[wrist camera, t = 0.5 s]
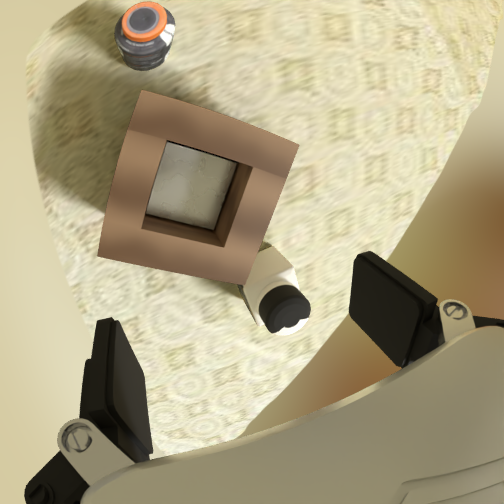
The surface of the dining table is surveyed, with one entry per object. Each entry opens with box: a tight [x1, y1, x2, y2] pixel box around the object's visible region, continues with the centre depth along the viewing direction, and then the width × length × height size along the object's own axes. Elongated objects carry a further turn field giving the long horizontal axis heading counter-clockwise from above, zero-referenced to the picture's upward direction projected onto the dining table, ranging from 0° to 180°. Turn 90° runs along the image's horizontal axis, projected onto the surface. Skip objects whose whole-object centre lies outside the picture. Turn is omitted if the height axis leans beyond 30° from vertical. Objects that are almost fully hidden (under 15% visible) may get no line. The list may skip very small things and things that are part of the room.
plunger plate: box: [146, 142, 237, 230], centre depth 29 cm, size 7×7×1 cm
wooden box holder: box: [97, 90, 299, 285], centre depth 30 cm, size 15×15×12 cm
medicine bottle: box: [237, 246, 311, 335], centre depth 40 cm, size 7×7×12 cm
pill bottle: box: [114, 2, 175, 71], centre depth 22 cm, size 6×6×11 cm
